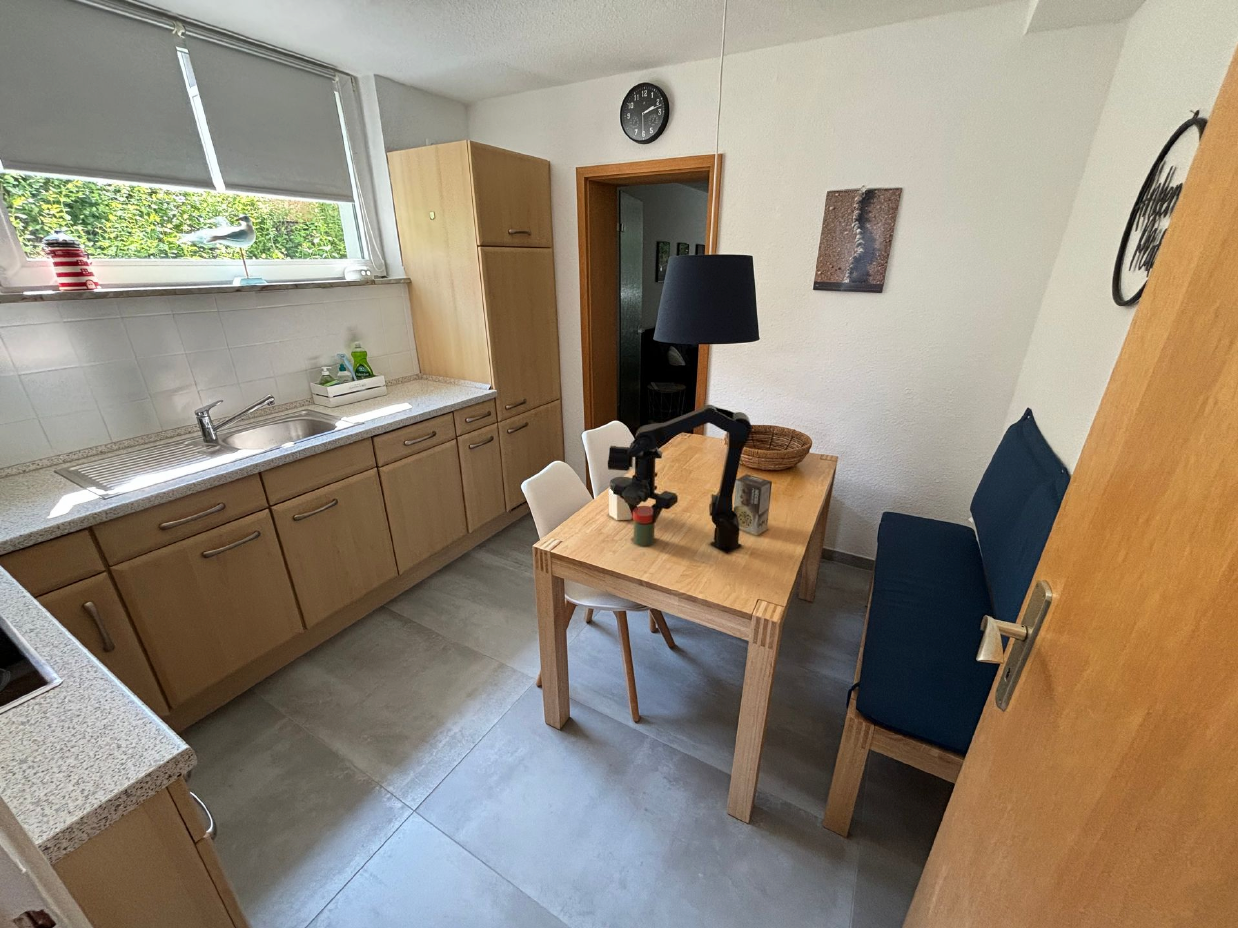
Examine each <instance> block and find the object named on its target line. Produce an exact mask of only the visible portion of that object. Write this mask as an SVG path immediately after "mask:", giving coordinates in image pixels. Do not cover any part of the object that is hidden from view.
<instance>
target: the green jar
mask: <svg viewBox="0 0 1238 928" xmlns="http://www.w3.org/2000/svg"><path fill="white" fill-rule="evenodd" d="M655 528H656V523H655V524H653V522H651V523H638V522H636V521H634V520H633V542H634V544H636V545H637V546H640V547H648V546H652V545H653V544H654V543H655Z"/></svg>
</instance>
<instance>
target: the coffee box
mask: <svg viewBox="0 0 1238 928" xmlns="http://www.w3.org/2000/svg"><path fill="white" fill-rule="evenodd" d="M772 485H773V481H772V480H769V479H766V478H762V477H759V476H755V475H753V474H752V475H751V474H748V473H746V474H744V475H741V476H740V477H738V478H736V482H735V487H734V497H733V511H734V512H735V513H736V514H737V517H738V523H739V529H740V530H741V531H744V532H747V533H749V534H751V535H753V536H759V535H760V534H762V533H763V532H765V531H766V530H768V521H769V514H770V505H771V503H770V502H771V496H772V495H771V494H772Z"/></svg>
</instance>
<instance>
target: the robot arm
mask: <svg viewBox="0 0 1238 928" xmlns="http://www.w3.org/2000/svg"><path fill="white" fill-rule="evenodd" d="M708 424H710V425H713V426H715V427H716V428H718V429H719V430H721V431H724V432H726V433H727V447H726V453H725V458H724V462H723V468H722V473H721V478H720V483H719V488H718V492H717V493H716V494H713V493H711V494H710V495H711V501H710V503H709V504H708V510H709V511H708V513H709V514H708V515H709V517H711V522H712V523H713V524H714V526H715V528H714V531H713V532H714V533H713V541H712V542H710V545H711V546H712V547H714V548H716V549H718V550H719V551H721V552H723V553H725V554H729V553H732V552H734V551H736V550H739V549H740V548H742V544H741V543H740V542H739V540H740V530H741V529H739V523H738V517H737V514H736V513H735V512H734V511H733V510H734V503H733V495H734V492H735V482H736V479H737V477H738V472H739V466H740V463H741V457H742V453H743V450H744V448H745V447H746V445H747V443H748V441H749V439H750V437H751V434H752V431H753V429H752V424H751V421H750V418H749V416H748V415H747V414H746V413H744V412H741V411H737V412H734V411H732V410H729V409H726V408H721V407H718V406H715V405H713V404H707V405H704V406H702V407H701V408H698V409H695V410H693V411H691V412H688V413H686V414H683V415H681V416H678V417H675V418H672V419H670V420H668V421H666V422H661V423H650V424H645V425H642V426H640V427H639V428H638V429H637V431H636V434H635V436H634V438H633V439H634V440H632V441H631V442H630V444H629V446H618V445H610V446H609V453H608V460H607V469H608V471H624V472H628V471H629V470H630V469H631V468H634V474H633V475H631V478H632V481H627V480H622V481H620V482H618V483H617V484H615V485H614V487H613V494H615V495H618V496H620V498H622V499H624V501H625V503H627V504H628V506H629V508H630V511H631V514H632V516H633V509H634V508H635V507H638V506H640V505H641V503H647V502H648V500H649V499H651V500H654V503H653V504H652V505H650V507H652V508H653V524H655V525H656V523H657V521H658V519H659V517H660V515H661V513H662V511H663V510H670V509H671V508H672V507H673V506H675V505H676V504H678V499H679V496H678V495H677V493H676V492H672V491H669V490H664V491H663V492H661V493H657V492H655V491H656V490H658V486H657V485H655V484H656V478H657V477H658V472H656V459H659V460H660V459H662V457H663V451H661V450H660V449H659V448H658V446H659V447H660V445H662V444H663V443H664V442H666V441H667V440H668V439H670V438H672V437H675V436H678V435H680V434H683V433H686V432H689V431H691V430H694V429H697V428H699V427H702V426H704V425H708ZM633 466H634V467H633Z"/></svg>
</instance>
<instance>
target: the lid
mask: <svg viewBox="0 0 1238 928" xmlns="http://www.w3.org/2000/svg"><path fill="white" fill-rule="evenodd" d="M632 520H633V522H634V521H636V522H638V523H651V522H653V508H652V507H651V505H637V507H635V508H634V509H633V518H632Z"/></svg>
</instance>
